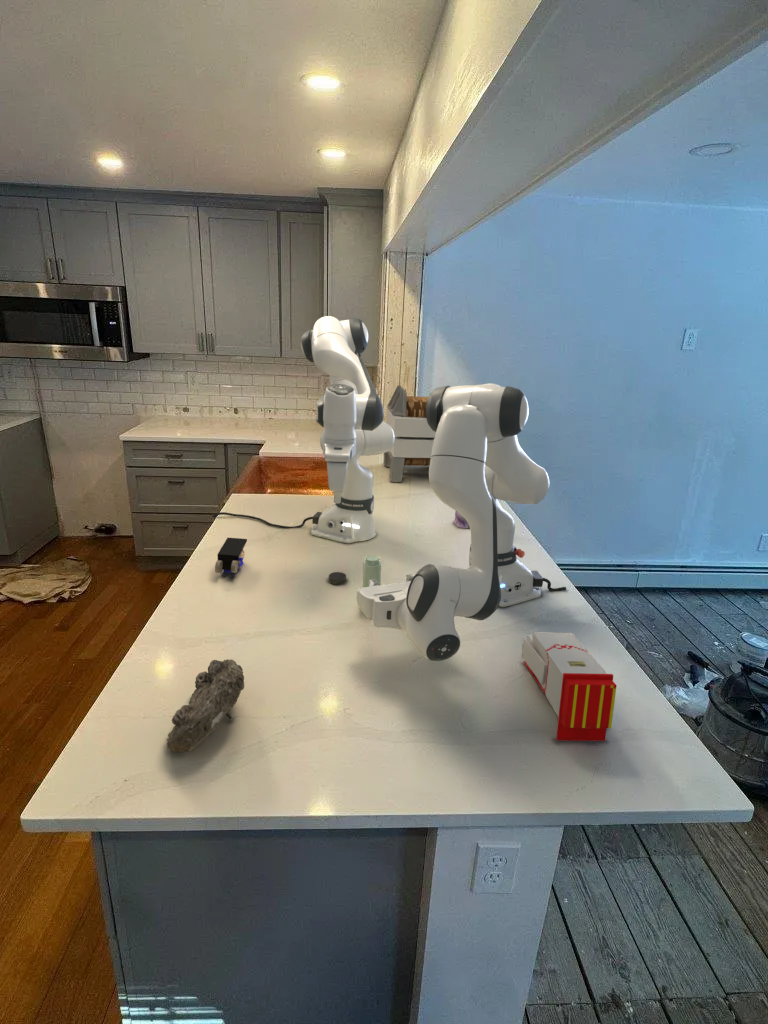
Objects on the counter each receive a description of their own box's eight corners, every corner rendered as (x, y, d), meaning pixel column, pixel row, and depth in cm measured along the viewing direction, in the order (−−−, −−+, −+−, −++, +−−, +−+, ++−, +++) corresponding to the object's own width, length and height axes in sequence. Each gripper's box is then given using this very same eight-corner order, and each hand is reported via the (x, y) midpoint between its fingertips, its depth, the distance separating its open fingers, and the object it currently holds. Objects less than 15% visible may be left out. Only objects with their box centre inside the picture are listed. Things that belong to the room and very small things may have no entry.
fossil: (192, 660, 117) (244, 628, 112) (224, 691, 120) (276, 661, 115) (142, 746, 98) (202, 712, 93) (182, 779, 101) (242, 748, 96)
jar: (369, 614, 147) (371, 563, 142) (358, 606, 150) (359, 556, 145) (382, 608, 150) (385, 558, 145) (372, 601, 153) (374, 552, 148)
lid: (347, 577, 166) (347, 572, 166) (345, 585, 161) (345, 580, 161) (329, 576, 166) (329, 571, 166) (327, 584, 162) (327, 579, 161)
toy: (568, 616, 131) (626, 681, 101) (562, 669, 133) (617, 748, 104) (515, 615, 130) (559, 680, 101) (511, 669, 133) (551, 747, 104)
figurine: (462, 530, 205) (466, 491, 200) (446, 521, 213) (450, 483, 208) (483, 527, 209) (487, 488, 204) (467, 518, 218) (471, 480, 213)
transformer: (382, 463, 289) (386, 382, 275) (445, 464, 293) (451, 384, 279) (390, 482, 257) (394, 392, 243) (460, 483, 261) (468, 394, 247)
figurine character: (238, 584, 162) (249, 557, 175) (236, 562, 158) (247, 536, 172) (215, 584, 161) (227, 556, 175) (212, 561, 158) (225, 535, 171)
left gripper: (330, 438, 160) (330, 485, 165) (324, 456, 141) (323, 508, 146) (353, 439, 160) (352, 486, 165) (349, 457, 141) (348, 509, 146)
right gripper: (457, 589, 124) (431, 562, 136) (368, 602, 118) (349, 573, 130) (455, 614, 127) (429, 585, 139) (367, 628, 120) (349, 597, 132)
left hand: (338, 497), depth 155 cm, fingers open, 8 cm apart
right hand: (390, 579), depth 134 cm, fingers open, 8 cm apart
